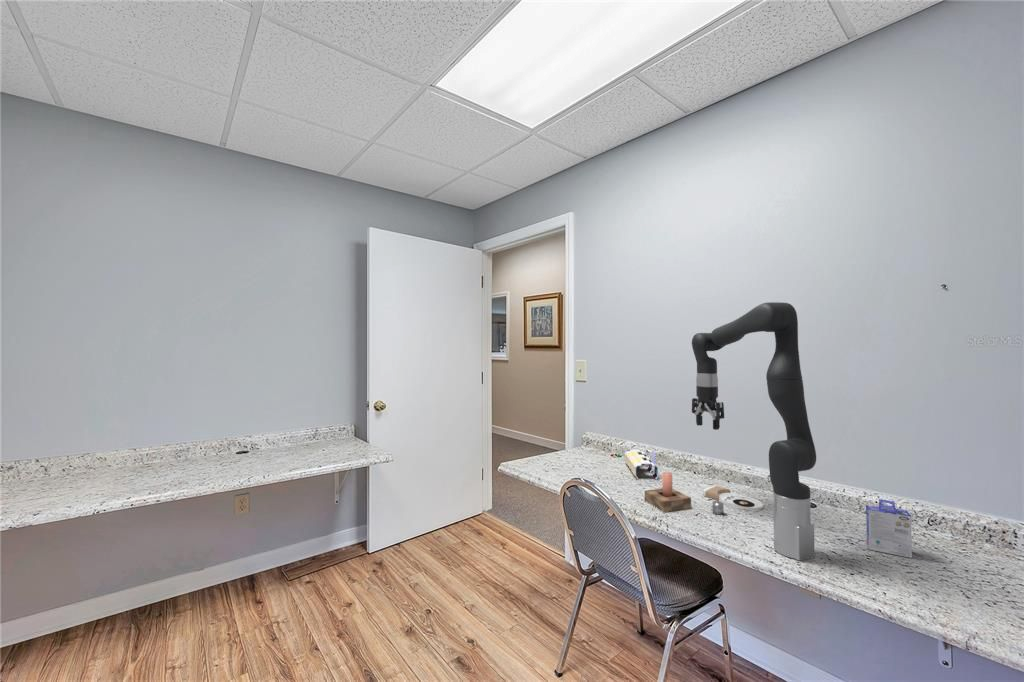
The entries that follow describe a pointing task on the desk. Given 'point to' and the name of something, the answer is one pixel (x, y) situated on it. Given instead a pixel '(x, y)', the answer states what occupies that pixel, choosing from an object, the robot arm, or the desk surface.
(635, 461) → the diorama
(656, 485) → the desk surface
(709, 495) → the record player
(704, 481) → the desk surface
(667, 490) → the long pin
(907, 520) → the ink cartridge box
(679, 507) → the hole block
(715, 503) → the short pin
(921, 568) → the desk surface
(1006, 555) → the desk surface
